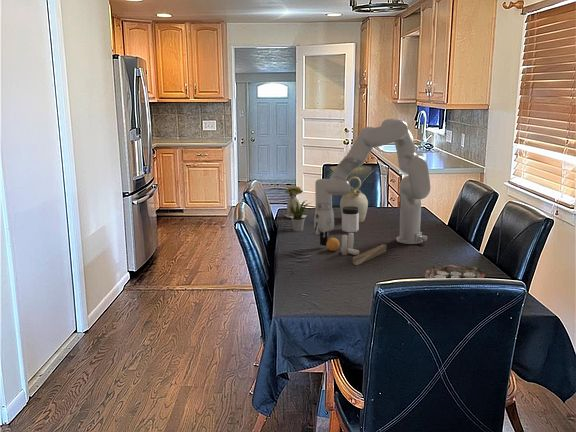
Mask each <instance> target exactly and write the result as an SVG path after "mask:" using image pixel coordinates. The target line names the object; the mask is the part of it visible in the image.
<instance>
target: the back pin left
mask: <svg viewBox="0 0 576 432" xmlns="http://www.w3.org/2000/svg"><path fill="white" fill-rule="evenodd" d="M341 247H342V252H341V255H342V256H347V255H348V253H347V248H348V235H346V234H343V235H341Z"/></svg>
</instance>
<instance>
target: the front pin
mask: <svg viewBox="0 0 576 432" xmlns="http://www.w3.org/2000/svg"><path fill="white" fill-rule="evenodd" d="M340 253H342V246H341V247H340ZM360 254H361V253H360V250H359V249H356V248H355V249H350V248H348V247H347V255H353V256H357V255H360Z"/></svg>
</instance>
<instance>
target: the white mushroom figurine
mask: <svg viewBox="0 0 576 432" xmlns="http://www.w3.org/2000/svg"><path fill="white" fill-rule="evenodd" d="M303 192H304V191H303V190H302V188H301V187H300V186H297V185H295V186H294V185H291V186H289V187H287V189H286V190H285V193H286V194H289V195H288V196H289V197H288V201H287V202H286V211H288V212H286V214H283V216H284V218H285V217H286V218H289V219H291V218H293V216H294V215H293V214H292V213H290V212H291V210H290V207H289V206H291V205H292V206H293V207H294V209H295V211H296V203H295V201H296V202H297V203H298V206H299V210H300V207H301V204H302V203H301V202H300V200H299V199H298V198H297V196H298V195H301V194H302V193H303ZM289 203H290V204H291V205H290V204H289ZM288 205H289V206H288ZM289 214H291V215H289ZM292 215H293V216H292ZM302 217H303V218H307V215H303V213H302Z"/></svg>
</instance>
